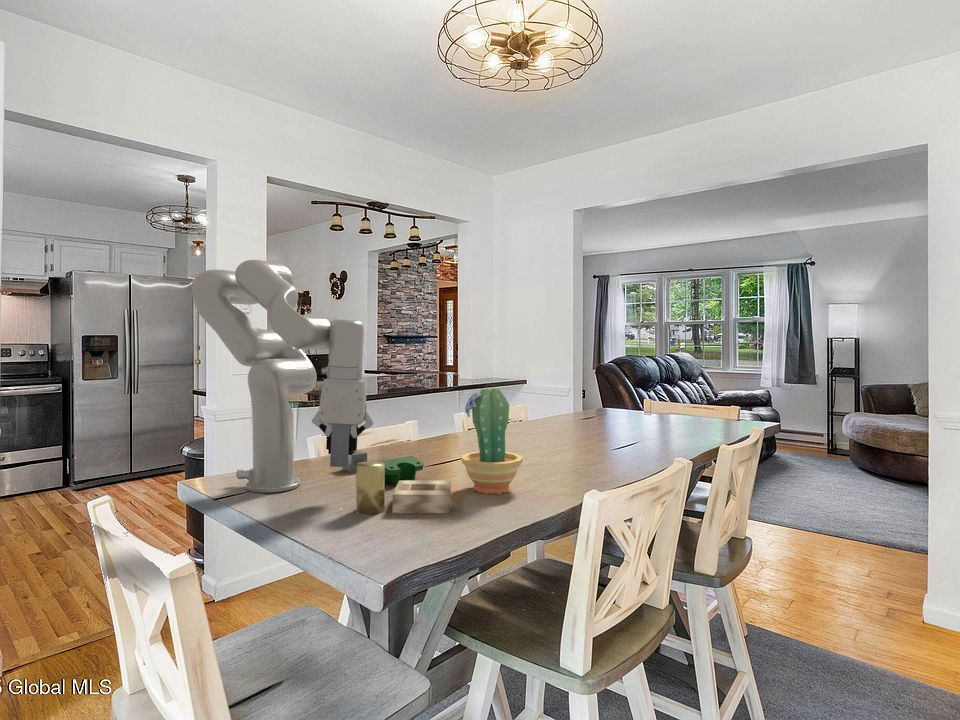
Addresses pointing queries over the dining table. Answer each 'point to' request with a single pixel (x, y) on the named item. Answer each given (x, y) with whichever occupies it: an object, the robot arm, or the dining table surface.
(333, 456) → the square bit
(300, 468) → the dining table surface
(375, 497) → the round bit
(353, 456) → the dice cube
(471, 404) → the potted cactus
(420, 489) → the socket block
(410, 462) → the clamp
